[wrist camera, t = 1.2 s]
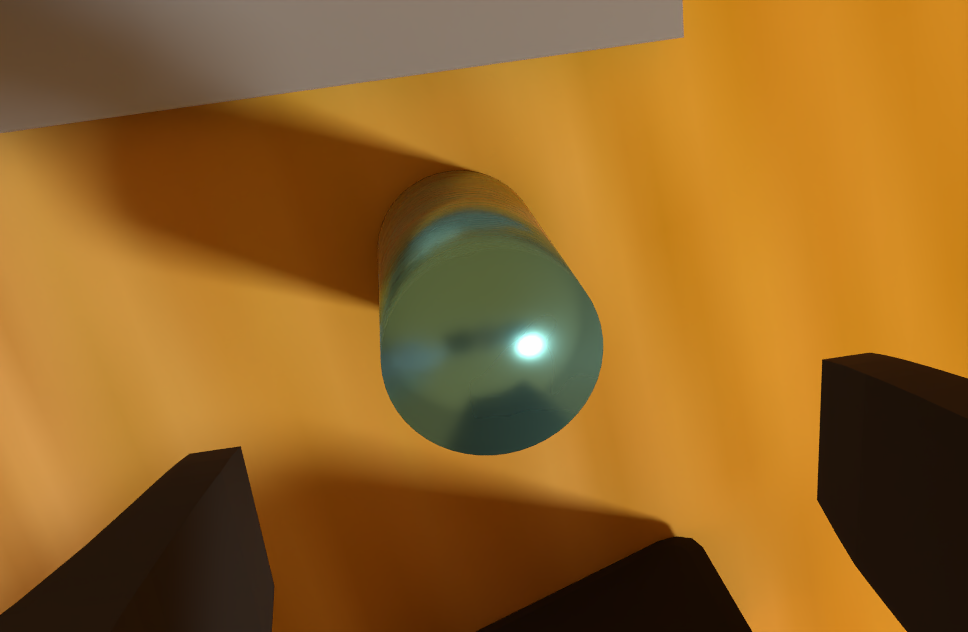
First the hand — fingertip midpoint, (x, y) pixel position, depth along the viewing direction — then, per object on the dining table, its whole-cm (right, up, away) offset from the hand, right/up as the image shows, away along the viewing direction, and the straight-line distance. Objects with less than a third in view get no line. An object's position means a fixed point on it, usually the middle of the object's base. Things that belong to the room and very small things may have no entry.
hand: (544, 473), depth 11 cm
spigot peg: (-1, +3, +9) cm, 10 cm away
